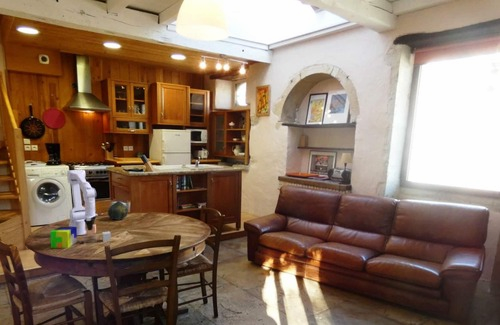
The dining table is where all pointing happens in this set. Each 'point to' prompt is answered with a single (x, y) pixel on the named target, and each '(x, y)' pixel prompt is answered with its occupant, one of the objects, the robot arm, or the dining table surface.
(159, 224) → the dining table surface
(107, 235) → the light grey block
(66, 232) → the puzzle toy
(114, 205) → the squash
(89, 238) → the wood slab
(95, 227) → the peach block
